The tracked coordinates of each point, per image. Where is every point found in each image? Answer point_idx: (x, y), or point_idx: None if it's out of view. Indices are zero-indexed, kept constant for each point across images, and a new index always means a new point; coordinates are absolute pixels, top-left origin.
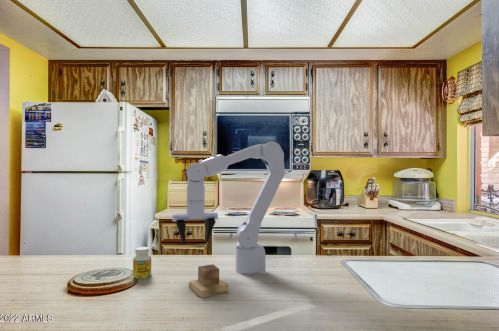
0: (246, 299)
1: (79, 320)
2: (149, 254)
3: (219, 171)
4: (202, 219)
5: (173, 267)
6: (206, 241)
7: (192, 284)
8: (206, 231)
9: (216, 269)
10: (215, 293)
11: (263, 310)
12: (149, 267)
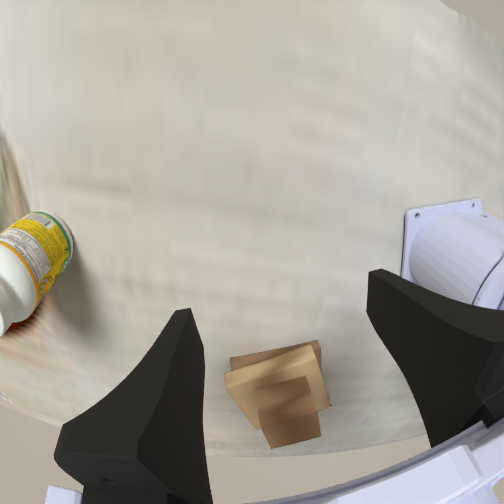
0: (351, 399)
1: (44, 413)
2: (18, 290)
3: None
4: (425, 459)
5: (150, 92)
6: (368, 311)
7: (235, 401)
8: (409, 344)
9: (312, 437)
10: None
11: (355, 426)
12: (52, 283)
